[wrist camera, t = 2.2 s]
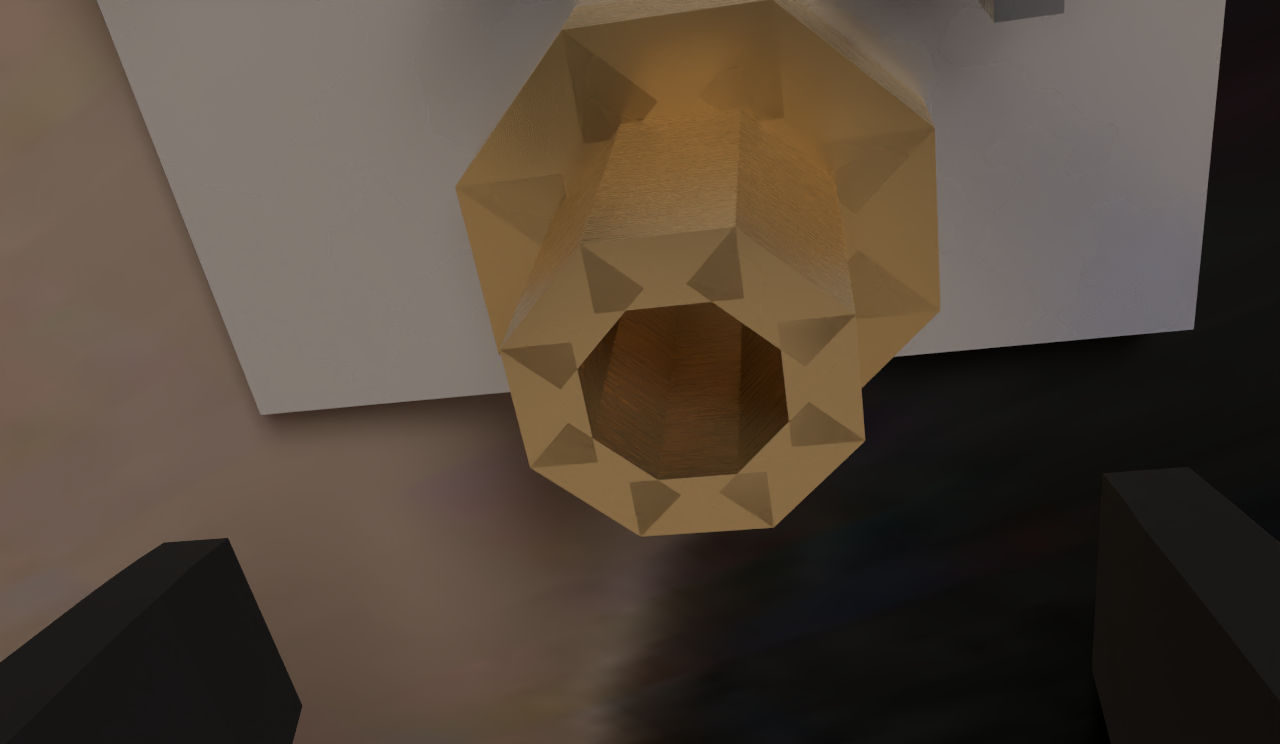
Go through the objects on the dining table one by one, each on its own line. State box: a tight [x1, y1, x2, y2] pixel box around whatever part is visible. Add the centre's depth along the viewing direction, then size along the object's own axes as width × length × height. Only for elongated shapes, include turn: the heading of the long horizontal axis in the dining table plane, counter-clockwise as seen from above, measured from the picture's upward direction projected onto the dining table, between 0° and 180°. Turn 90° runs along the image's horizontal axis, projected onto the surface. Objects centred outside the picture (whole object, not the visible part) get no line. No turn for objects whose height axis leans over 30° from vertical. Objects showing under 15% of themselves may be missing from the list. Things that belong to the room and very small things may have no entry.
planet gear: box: [455, 0, 941, 537], centre depth 14 cm, size 6×6×5 cm
